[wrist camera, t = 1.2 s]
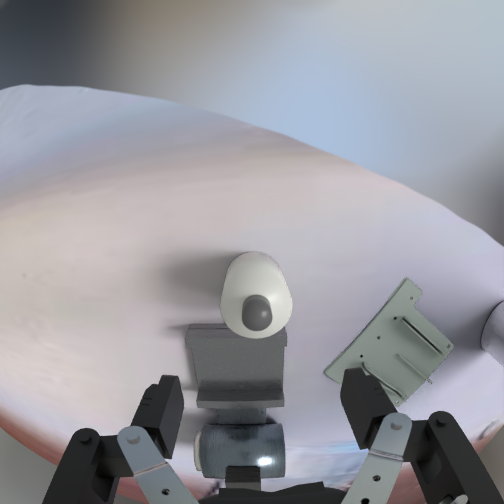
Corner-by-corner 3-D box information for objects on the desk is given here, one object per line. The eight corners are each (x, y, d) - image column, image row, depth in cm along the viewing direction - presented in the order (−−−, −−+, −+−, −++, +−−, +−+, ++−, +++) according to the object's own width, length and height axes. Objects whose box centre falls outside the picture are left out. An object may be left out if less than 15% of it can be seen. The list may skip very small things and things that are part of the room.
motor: (283, 321, 30) (298, 381, 20) (278, 445, 35) (284, 498, 25) (181, 323, 29) (156, 381, 20) (205, 446, 35) (198, 499, 25)
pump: (282, 250, 28) (297, 279, 19) (281, 303, 29) (294, 348, 21) (224, 252, 28) (215, 282, 19) (227, 304, 29) (220, 351, 20)
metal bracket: (473, 341, 25) (393, 427, 28) (455, 328, 31) (385, 404, 34) (404, 272, 27) (316, 373, 30) (391, 266, 33) (316, 353, 35)
